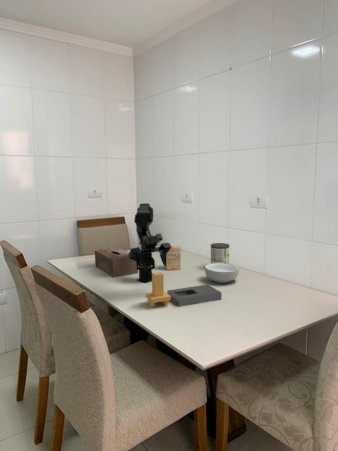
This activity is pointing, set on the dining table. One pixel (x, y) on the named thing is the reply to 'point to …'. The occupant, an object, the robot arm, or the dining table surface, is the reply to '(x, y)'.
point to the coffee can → (220, 253)
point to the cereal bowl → (221, 272)
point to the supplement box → (173, 258)
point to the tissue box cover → (115, 262)
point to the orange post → (157, 291)
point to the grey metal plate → (194, 295)
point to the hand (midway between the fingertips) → (155, 268)
